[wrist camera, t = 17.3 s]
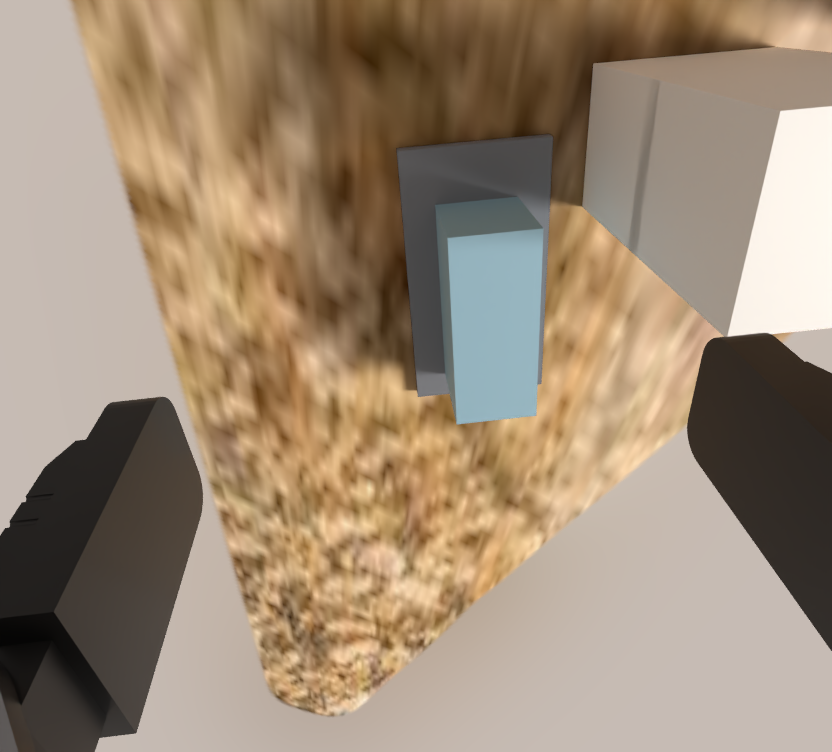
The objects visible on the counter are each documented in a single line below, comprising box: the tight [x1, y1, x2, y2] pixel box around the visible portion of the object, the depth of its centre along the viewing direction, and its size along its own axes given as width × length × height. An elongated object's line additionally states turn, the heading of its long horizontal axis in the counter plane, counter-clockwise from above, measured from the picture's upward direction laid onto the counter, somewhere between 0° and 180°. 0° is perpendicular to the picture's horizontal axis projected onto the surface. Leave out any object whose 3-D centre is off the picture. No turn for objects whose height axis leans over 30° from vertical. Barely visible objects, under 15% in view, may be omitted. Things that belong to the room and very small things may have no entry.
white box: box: [582, 47, 832, 337], centre depth 28 cm, size 8×10×17 cm
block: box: [435, 197, 544, 424], centre depth 36 cm, size 12×5×6 cm, turn 4°
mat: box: [396, 134, 553, 397], centre depth 39 cm, size 17×9×1 cm, turn 4°
